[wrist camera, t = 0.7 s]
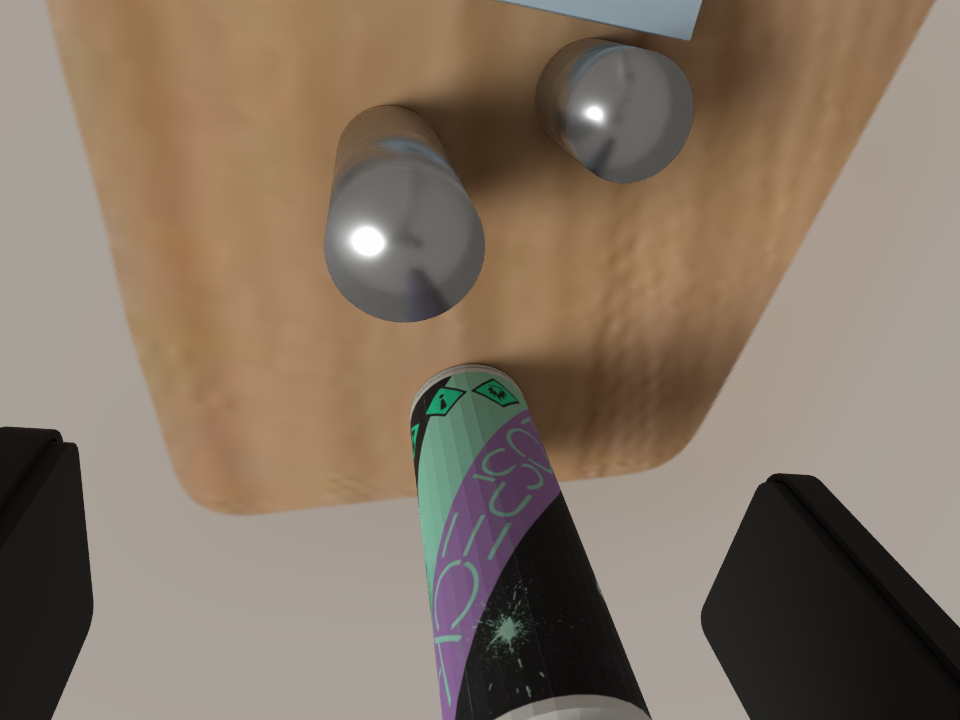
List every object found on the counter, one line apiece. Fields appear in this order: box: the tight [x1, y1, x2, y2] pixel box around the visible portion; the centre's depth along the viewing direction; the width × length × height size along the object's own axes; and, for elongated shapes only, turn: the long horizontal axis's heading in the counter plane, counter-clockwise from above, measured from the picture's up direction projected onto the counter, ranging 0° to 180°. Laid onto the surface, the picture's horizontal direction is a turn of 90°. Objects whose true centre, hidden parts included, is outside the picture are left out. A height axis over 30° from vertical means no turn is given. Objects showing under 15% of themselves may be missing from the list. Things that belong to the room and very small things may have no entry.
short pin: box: [535, 38, 694, 183], centre depth 23 cm, size 4×4×5 cm
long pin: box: [324, 105, 485, 322], centre depth 21 cm, size 4×4×10 cm
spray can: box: [410, 364, 652, 720], centre depth 23 cm, size 6×6×20 cm
